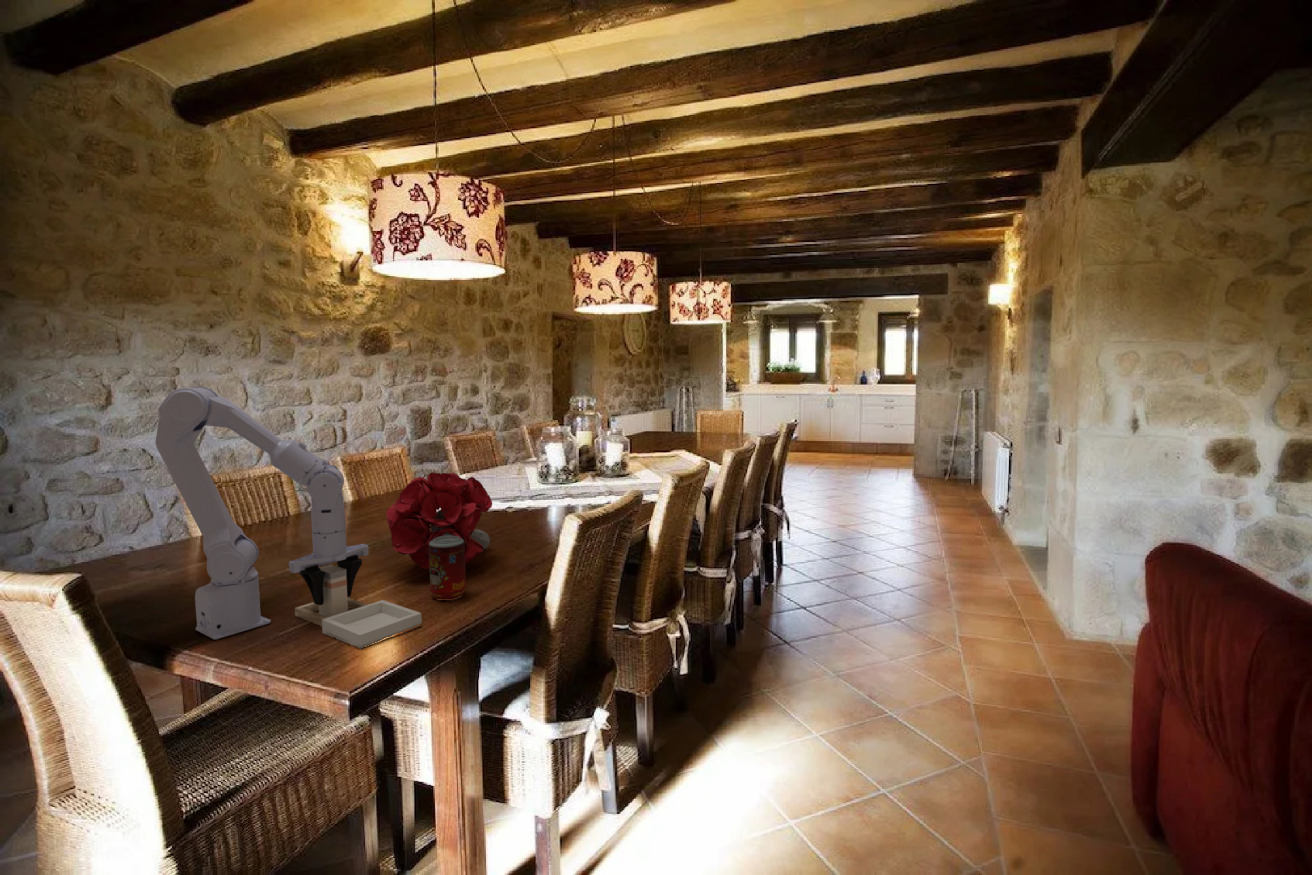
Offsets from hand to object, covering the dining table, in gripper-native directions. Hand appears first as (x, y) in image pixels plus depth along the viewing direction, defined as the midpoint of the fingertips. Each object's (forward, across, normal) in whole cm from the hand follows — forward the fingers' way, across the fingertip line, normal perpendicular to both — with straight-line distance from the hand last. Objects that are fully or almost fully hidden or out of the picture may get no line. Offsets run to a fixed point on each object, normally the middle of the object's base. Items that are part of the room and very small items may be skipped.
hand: (332, 599), depth 126 cm
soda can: (+3, +19, -10) cm, 22 cm away
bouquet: (+3, +33, +7) cm, 34 cm away
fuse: (+3, 0, 0) cm, 3 cm away
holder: (+3, 0, 0) cm, 3 cm away
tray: (+3, 0, -13) cm, 13 cm away
